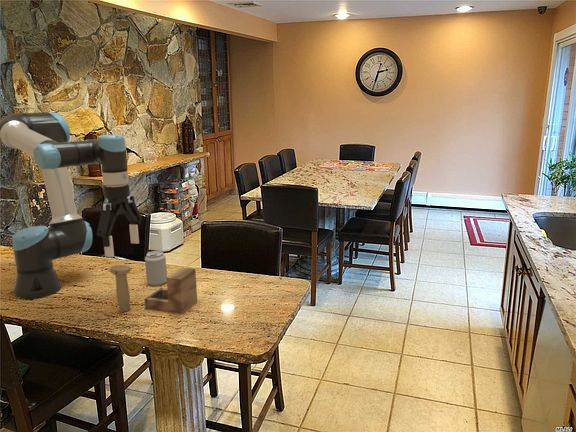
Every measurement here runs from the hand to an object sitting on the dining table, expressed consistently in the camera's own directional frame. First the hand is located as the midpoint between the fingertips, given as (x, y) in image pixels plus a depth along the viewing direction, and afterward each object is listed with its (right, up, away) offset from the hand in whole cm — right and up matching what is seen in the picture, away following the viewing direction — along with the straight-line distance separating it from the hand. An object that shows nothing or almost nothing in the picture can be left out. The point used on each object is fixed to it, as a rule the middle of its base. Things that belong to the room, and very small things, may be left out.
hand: (122, 249), depth 152 cm
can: (+4, -15, +27) cm, 31 cm away
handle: (-1, -21, +4) cm, 21 cm away
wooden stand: (+15, -20, +7) cm, 26 cm away
